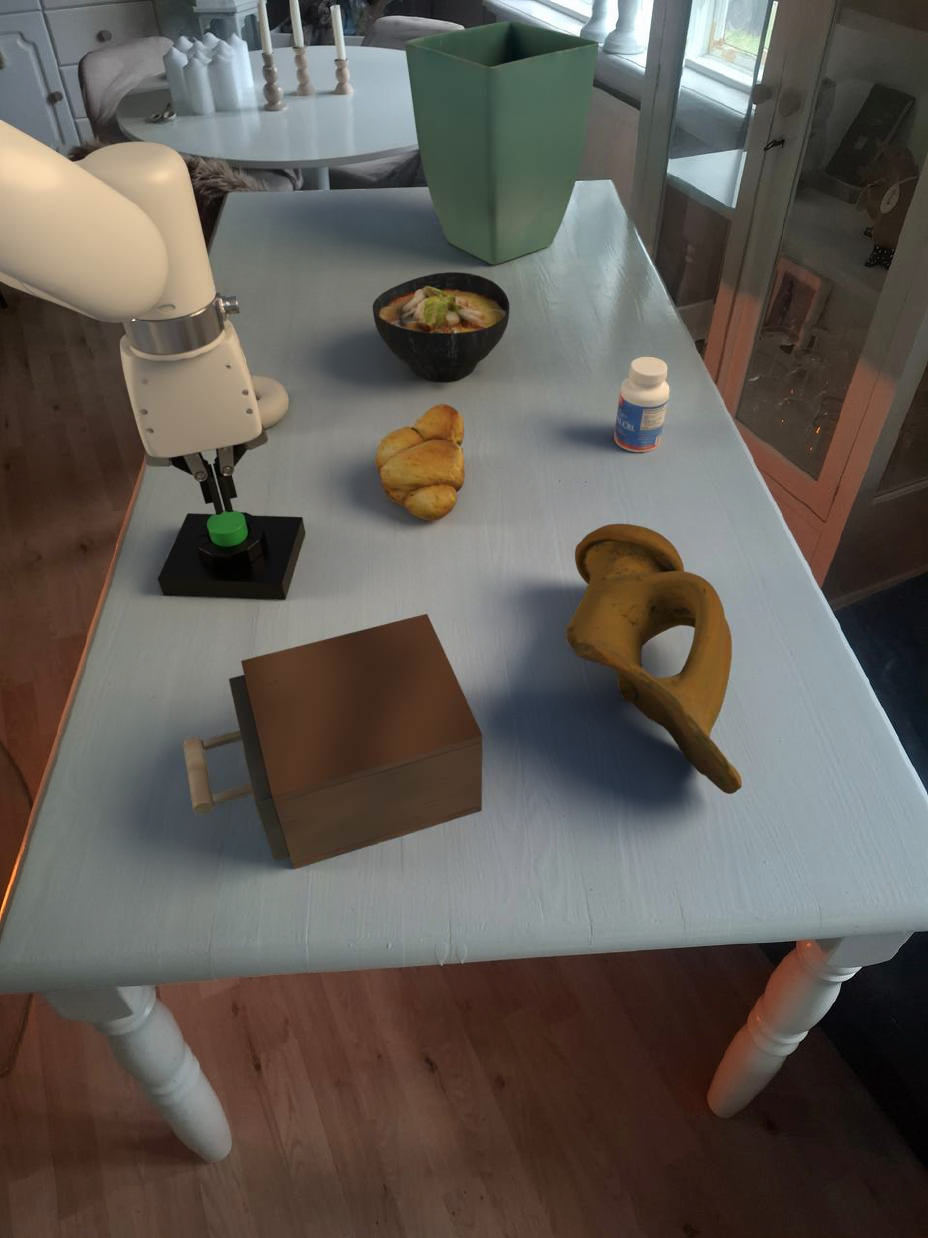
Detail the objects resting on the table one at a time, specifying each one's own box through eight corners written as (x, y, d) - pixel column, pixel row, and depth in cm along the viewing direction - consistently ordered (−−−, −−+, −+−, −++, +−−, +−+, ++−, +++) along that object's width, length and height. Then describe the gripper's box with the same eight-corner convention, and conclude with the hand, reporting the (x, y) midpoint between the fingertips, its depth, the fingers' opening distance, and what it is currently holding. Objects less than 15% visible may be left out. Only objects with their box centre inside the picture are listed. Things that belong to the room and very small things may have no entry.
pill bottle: (605, 433, 102) (614, 357, 95) (645, 424, 103) (657, 348, 96) (627, 458, 98) (638, 381, 91) (668, 448, 100) (683, 372, 93)
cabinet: (294, 869, 63) (271, 796, 56) (263, 738, 71) (240, 660, 64) (482, 810, 66) (482, 735, 59) (431, 691, 74) (427, 613, 68)
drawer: (214, 880, 61) (188, 821, 56) (194, 755, 69) (169, 693, 63) (450, 807, 65) (448, 745, 60) (407, 697, 73) (401, 633, 67)
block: (162, 595, 83) (151, 564, 80) (192, 529, 90) (183, 498, 87) (285, 600, 83) (278, 569, 80) (305, 533, 90) (300, 502, 87)
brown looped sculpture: (471, 697, 64) (557, 491, 76) (524, 783, 73) (594, 588, 85) (723, 726, 55) (777, 487, 67) (748, 820, 64) (792, 596, 76)
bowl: (529, 351, 116) (532, 278, 109) (471, 413, 105) (470, 336, 98) (418, 324, 121) (415, 253, 114) (353, 381, 111) (344, 306, 104)
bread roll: (468, 528, 90) (468, 465, 84) (375, 532, 90) (368, 468, 84) (463, 457, 99) (462, 395, 93) (378, 460, 99) (372, 398, 93)
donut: (297, 395, 109) (219, 393, 109) (294, 370, 106) (213, 368, 107) (282, 440, 102) (198, 437, 102) (278, 414, 99) (192, 412, 100)
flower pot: (412, 240, 142) (401, 38, 122) (505, 211, 150) (510, 17, 130) (487, 282, 131) (489, 66, 111) (584, 248, 139) (602, 42, 119)
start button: (206, 546, 83) (202, 532, 81) (216, 522, 85) (212, 508, 84) (243, 548, 82) (239, 533, 81) (252, 524, 85) (248, 510, 84)
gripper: (259, 286, 72) (293, 466, 85) (73, 316, 69) (138, 498, 82) (275, 326, 67) (309, 511, 80) (76, 360, 64) (145, 547, 77)
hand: (222, 504), depth 81 cm, fingers closed
